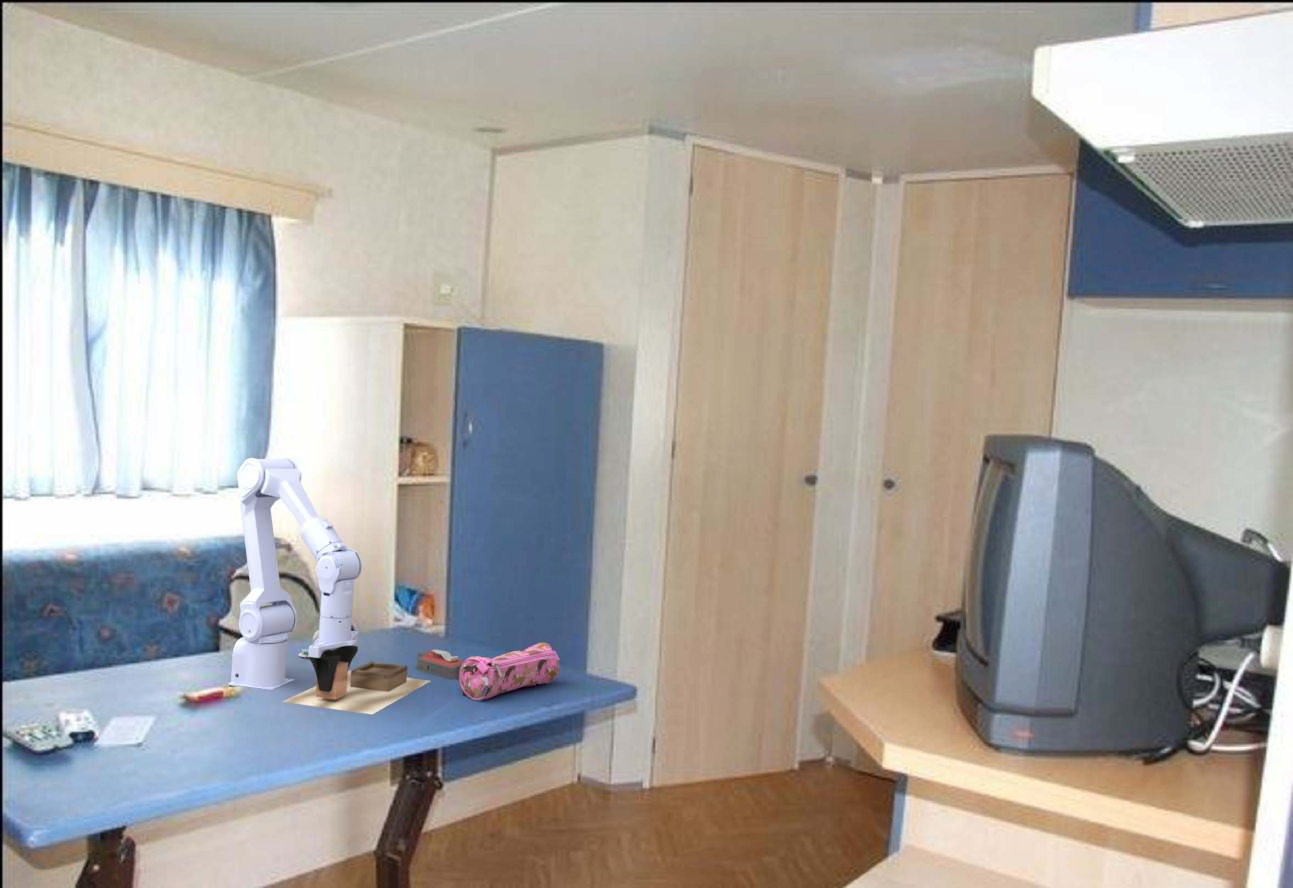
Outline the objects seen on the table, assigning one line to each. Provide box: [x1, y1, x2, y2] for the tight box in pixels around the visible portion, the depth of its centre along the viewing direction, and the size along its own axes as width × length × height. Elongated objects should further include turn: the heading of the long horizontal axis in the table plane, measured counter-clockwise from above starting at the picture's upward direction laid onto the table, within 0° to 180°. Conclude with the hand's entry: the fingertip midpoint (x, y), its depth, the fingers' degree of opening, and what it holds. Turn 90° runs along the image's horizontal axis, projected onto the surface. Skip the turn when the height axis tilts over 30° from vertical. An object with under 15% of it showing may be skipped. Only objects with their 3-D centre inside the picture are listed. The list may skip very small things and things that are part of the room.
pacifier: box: [298, 629, 319, 659], centre depth 223 cm, size 7×6×6 cm
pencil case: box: [458, 642, 560, 702], centre depth 206 cm, size 21×9×9 cm, turn 142°
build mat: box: [282, 661, 432, 715], centre depth 197 cm, size 18×25×4 cm
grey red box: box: [416, 649, 466, 681], centre depth 219 cm, size 9×4×20 cm
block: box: [315, 661, 349, 700], centre depth 190 cm, size 4×4×6 cm
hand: (331, 687), depth 190 cm, fingers closed on block, 4 cm apart
